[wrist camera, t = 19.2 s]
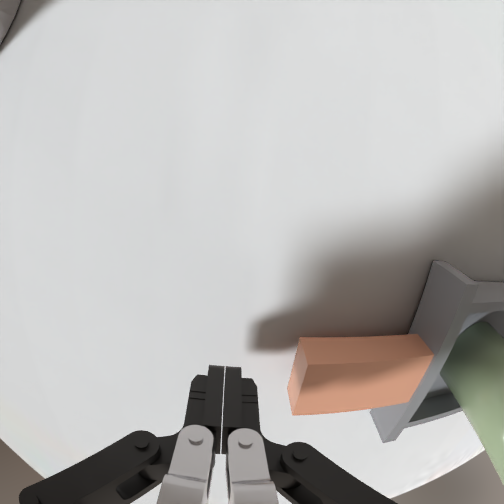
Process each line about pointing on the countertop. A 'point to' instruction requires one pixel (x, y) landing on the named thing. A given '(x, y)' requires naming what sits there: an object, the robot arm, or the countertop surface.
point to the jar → (480, 385)
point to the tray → (441, 335)
